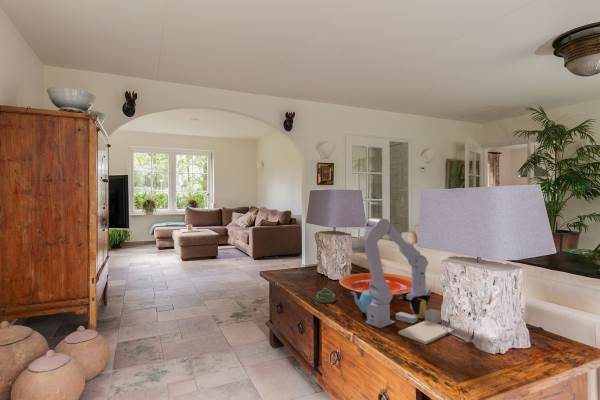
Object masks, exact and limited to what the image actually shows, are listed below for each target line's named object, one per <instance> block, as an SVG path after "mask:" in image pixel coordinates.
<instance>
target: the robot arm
mask: <svg viewBox="0 0 600 400" xmlns="http://www.w3.org/2000/svg"><path fill="white" fill-rule="evenodd" d="M364 227H365V231H364V234H363V238H362V239H363V240H362V241H363V245H364V249H365V256H366V259H367V261H366V262H367V265H368V269H369V274H370V278H371V279H370V281H369V283H368V285H369V288H368V289H369V294H370V296H371V297H372V303H371V304H370V305H368V307H367V316H366V318H367V319H366V320H365V323H366V324H368V325H371V326H374V327H376V328H378V329H382V328H385V327H386V326H387V327H388V326H389V325H392V324H395V322H396V321H394V320H392V319H391V308H390V307H391V306H390V305H391V301H392V299H393V295H394V294H393V292H392V290H391V289H390V285H389V283H388V282H387V280H386V279H385V275H384V269H383V265H382V261H381V254H380V250H379V245H378V242H379V241H380V240H381V239H382V238H383V237H384V236H385V235H386V236H388V237H389V239H390V240H392V241H393V242H394V243H395V244H396V245H397V246H398V247H399V252H400V253H401V254H402V255H403V257H405V258H406V259H407V264H409V265H410V266H411V268H410V269H411V291H410V293H409V294H407V296H406V297H407V299H408V300H409V301H410V302H409V303H411V305H412V308H413V310H412V312H413V311H414V314H419V310H420V303H421V299H422V300H426V307H428V303H429V300H430V299H431V295H429V294H431V293H432V289H431V288H428V287H426V284H427V283H426V282H427V281H426V278H427V277H426V271H427V267H428V265H429V261H428V260H427V257H426V256H425V255H422V254H421V251H419V250H417V248H415V246H414V244H413V242H410V241H405V239H404V238H403V237H402V235H401V234H400V233H399V232H398V231H397V229H396V228H395V227H394V224H392V223H391V222H390V220H389V219H387V218H378V217H370V218H369V219H368V220H367V222H366V223H365V224H364Z"/></svg>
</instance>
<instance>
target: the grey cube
mask: <svg viewBox="0 0 600 400" xmlns="http://www.w3.org/2000/svg"><path fill="white" fill-rule="evenodd" d="M441 316H442V315H441V310H438V309H434V308H429V309H426V310H425V317H424V321H425V320H428V321H431V322H434V323H437V324H440V323H441V322H440V321H442V318H441Z"/></svg>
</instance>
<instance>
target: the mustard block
mask: <svg viewBox="0 0 600 400" xmlns="http://www.w3.org/2000/svg"><path fill="white" fill-rule="evenodd" d="M425 310H427V306H426V300H422V299H421V303H420V310H419V314H414V311H413V310H412V315H415V316H417V319H425Z"/></svg>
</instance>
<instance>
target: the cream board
mask: <svg viewBox="0 0 600 400" xmlns="http://www.w3.org/2000/svg"><path fill="white" fill-rule="evenodd" d="M441 325H442V324H440V323H434V322H431V321H428V320H425V319H424V320H423V321H421V322H418V323H416V324H415V323H414V325H413V324H412V325H411V326H409V327H406V328H403V329H401V330H398V332H397V333H398V335H401V336H402V337H405V338H409V339H410V340H413V341H416V342H419V343H421V344H424V345H427V344H429V343H432V342H434V341H436V340H438V339H440V338H442V337H444V336H446V334H447V333H448V331H445V330H443V329H442V327H441ZM447 335H448V334H447Z"/></svg>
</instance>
